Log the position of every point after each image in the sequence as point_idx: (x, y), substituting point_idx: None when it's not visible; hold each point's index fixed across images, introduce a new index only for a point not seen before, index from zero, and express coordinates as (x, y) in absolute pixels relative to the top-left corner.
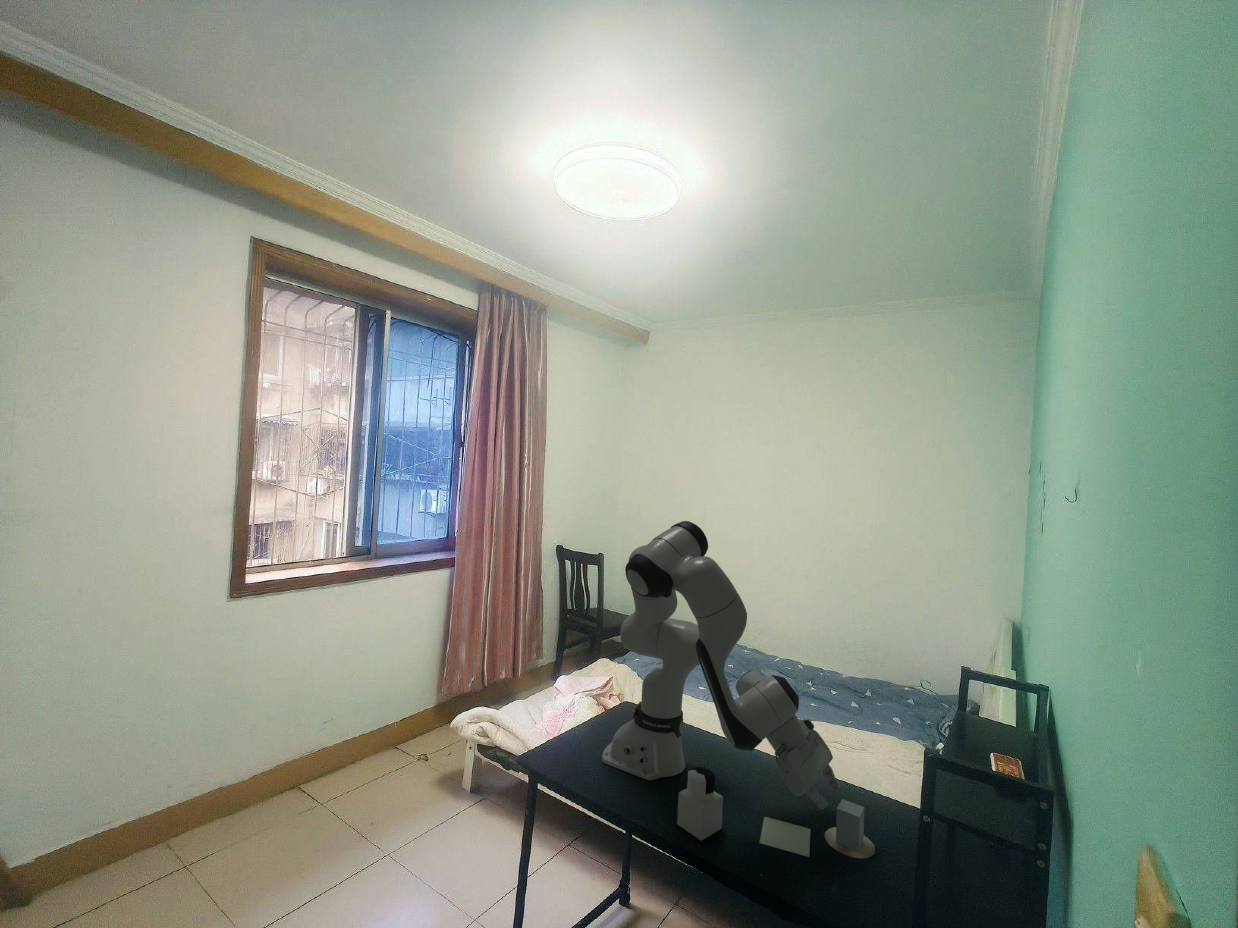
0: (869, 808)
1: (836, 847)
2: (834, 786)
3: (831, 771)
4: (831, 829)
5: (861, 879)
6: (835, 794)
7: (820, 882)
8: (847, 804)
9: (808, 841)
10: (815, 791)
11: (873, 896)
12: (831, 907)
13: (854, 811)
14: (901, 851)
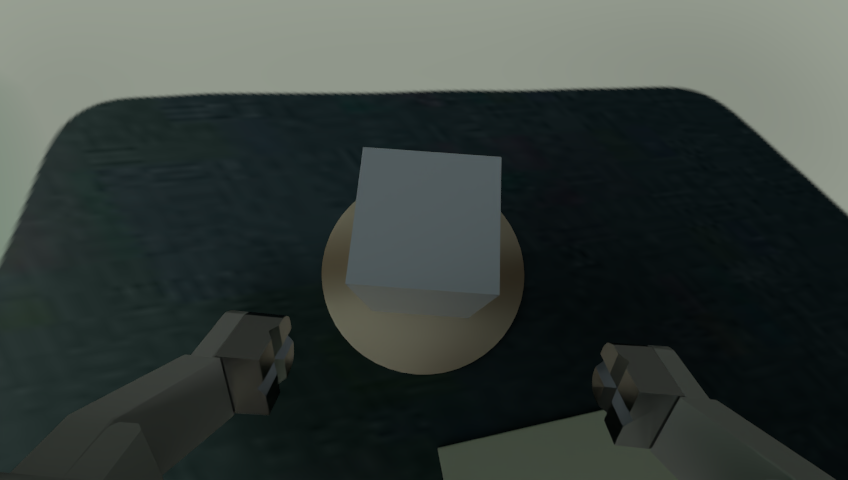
0: (90, 232)
1: (499, 308)
2: (279, 349)
3: (137, 406)
4: (378, 353)
5: (619, 199)
6: (18, 401)
7: (757, 322)
8: (399, 240)
9: (546, 430)
10: (810, 475)
11: (674, 157)
12: (844, 263)
13: (455, 191)
14: (355, 103)
